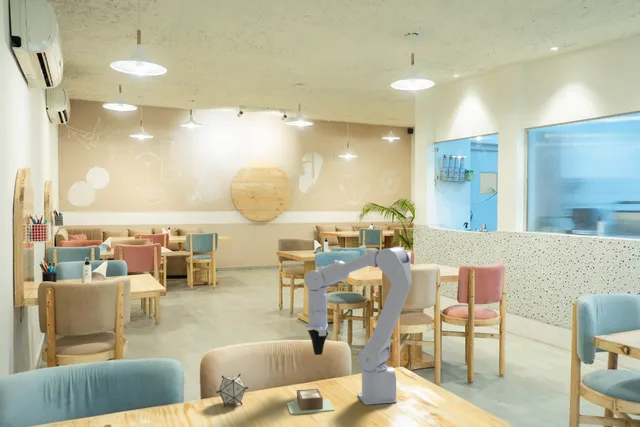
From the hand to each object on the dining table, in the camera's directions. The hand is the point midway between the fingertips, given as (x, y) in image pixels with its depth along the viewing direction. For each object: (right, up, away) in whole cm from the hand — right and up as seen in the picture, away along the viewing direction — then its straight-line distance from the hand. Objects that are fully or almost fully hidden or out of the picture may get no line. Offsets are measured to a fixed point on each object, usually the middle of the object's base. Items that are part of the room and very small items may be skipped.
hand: (318, 354), depth 152 cm
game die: (-24, -11, -12) cm, 29 cm away
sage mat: (-2, -11, -14) cm, 18 cm away
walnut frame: (-3, -9, -10) cm, 14 cm away
